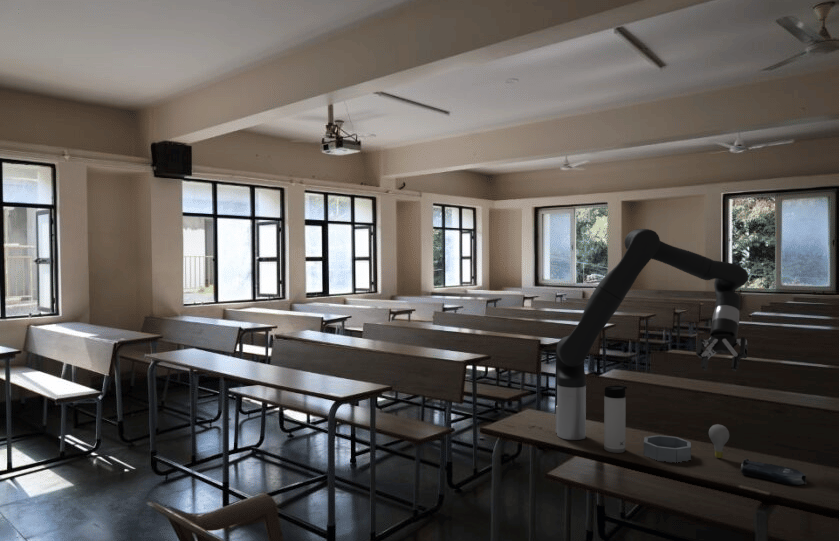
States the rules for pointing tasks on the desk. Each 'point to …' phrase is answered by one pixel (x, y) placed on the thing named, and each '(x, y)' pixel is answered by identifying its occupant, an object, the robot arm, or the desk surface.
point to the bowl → (667, 448)
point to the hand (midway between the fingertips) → (718, 369)
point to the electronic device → (773, 472)
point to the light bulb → (718, 438)
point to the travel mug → (614, 418)
